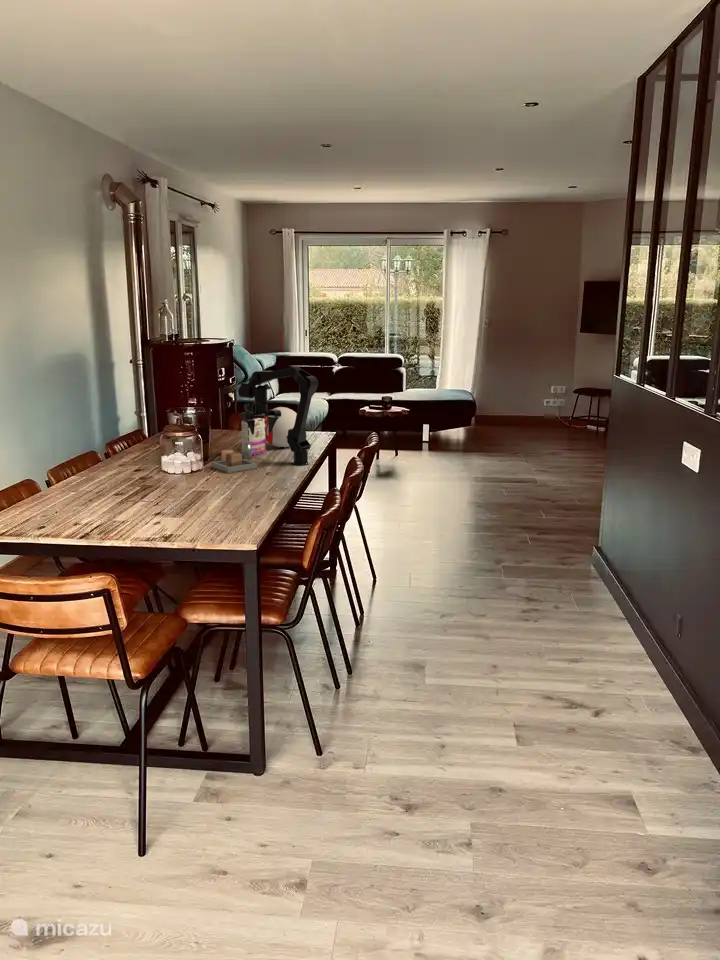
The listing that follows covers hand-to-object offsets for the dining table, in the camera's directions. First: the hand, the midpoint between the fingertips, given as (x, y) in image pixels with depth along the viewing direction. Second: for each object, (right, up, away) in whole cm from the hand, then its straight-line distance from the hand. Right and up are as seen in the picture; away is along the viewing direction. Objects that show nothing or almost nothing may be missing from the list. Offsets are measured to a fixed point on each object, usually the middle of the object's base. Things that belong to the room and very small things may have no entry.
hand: (261, 433), depth 335 cm
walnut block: (-10, -16, -17) cm, 25 cm away
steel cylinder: (-7, -11, +3) cm, 14 cm away
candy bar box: (-5, -9, +15) cm, 18 cm away
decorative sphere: (+6, -5, +32) cm, 33 cm away
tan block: (-15, -13, -3) cm, 20 cm away
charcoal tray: (-10, -16, -16) cm, 25 cm away
